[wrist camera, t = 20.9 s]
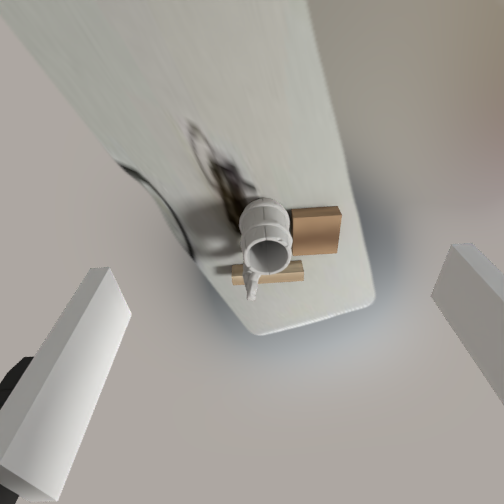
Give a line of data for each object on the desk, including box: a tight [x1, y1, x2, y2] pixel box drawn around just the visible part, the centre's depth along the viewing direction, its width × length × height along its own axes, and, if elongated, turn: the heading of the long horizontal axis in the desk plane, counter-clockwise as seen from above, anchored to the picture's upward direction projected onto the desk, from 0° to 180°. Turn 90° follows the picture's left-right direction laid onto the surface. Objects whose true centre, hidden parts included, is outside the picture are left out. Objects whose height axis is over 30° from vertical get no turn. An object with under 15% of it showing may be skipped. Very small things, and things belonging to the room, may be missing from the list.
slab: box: [291, 206, 342, 256], centre depth 47 cm, size 7×7×3 cm
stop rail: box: [232, 261, 304, 285], centre depth 52 cm, size 2×12×3 cm, turn 94°
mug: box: [239, 198, 293, 301], centre depth 44 cm, size 8×12×12 cm, turn 159°
